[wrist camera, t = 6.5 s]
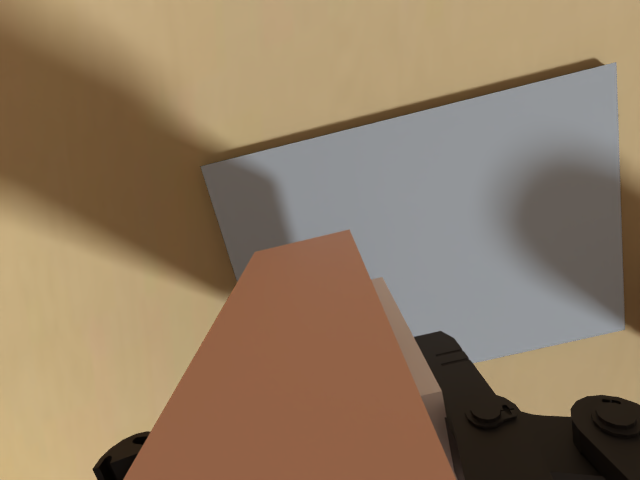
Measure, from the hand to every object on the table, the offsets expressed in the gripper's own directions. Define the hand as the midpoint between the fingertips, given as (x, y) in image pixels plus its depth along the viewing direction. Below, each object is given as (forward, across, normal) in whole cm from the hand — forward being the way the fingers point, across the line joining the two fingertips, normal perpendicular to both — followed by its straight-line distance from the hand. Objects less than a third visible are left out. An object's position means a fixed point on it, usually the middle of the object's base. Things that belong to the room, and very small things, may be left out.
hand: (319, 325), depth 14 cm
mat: (+6, -6, 0) cm, 8 cm away
